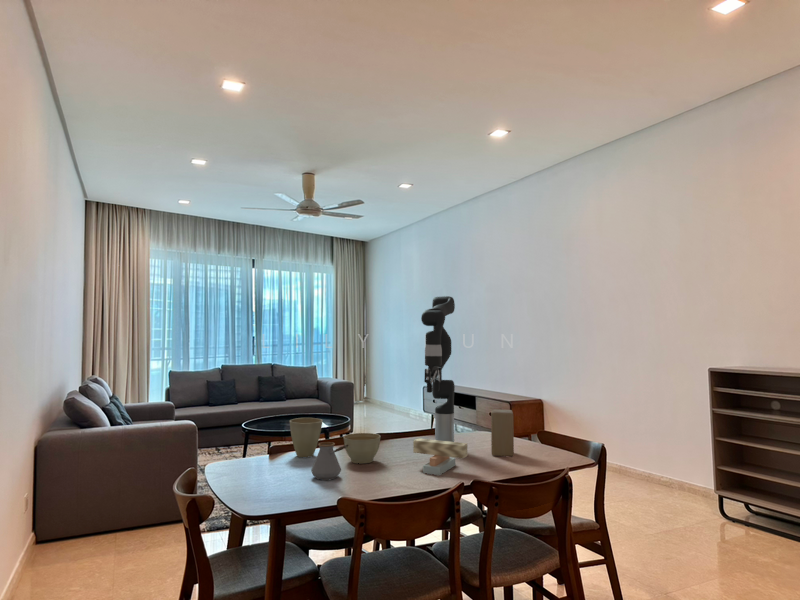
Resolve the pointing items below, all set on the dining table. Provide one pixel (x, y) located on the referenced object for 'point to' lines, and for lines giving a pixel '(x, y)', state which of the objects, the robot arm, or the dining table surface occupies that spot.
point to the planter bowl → (362, 446)
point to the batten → (440, 448)
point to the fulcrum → (438, 465)
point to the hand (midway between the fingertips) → (433, 391)
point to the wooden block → (502, 433)
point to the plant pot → (305, 435)
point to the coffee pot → (327, 462)
